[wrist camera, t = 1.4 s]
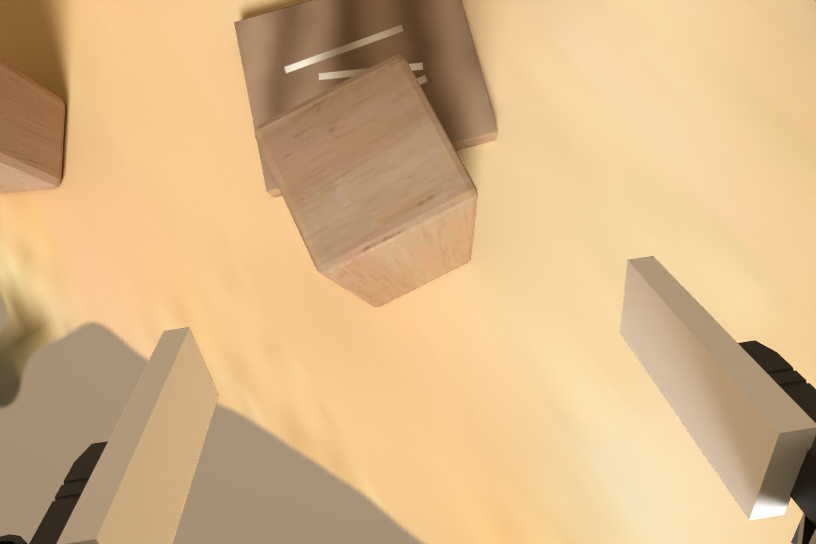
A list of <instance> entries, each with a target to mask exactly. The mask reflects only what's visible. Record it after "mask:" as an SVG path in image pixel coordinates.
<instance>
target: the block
mask: <svg viewBox="0 0 816 544" xmlns="http://www.w3.org/2000/svg"><path fill="white" fill-rule="evenodd" d="M64 121H65V105H64V102H63V100H62V99H61V98H60V97H59V96H57V95H55V94H54V93H52V92H51V91H49V90H48V89H46V88H45V87H43V86H42V85H40V84H39V83H37V82H36V81H34V80H33V79H31V78H30V77H28V76H26V75H25V74H23V73H22V72H20V71H19V70H17V69H16V68H14V67H13V66H11V65H10V64H8V63H7V62H5V61H4V60H2V59H0V194H1V193H12V192H23V191H34V190H46V189H54V188H57V187H59V185H60V183H61V174H62V157H63V139H64Z"/></svg>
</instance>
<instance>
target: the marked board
mask: <svg viewBox="0 0 816 544" xmlns="http://www.w3.org/2000/svg"><path fill="white" fill-rule="evenodd" d="M234 23H235V29H236V34H237V39H238V44H239V49H240V55H241V60H242V65H243V70H244V76H245V81H246V86H247V91H248V96H249V102H250V107H251V112H252V117H253V122H254V128H256V127H257V126H258V125H260V124H261V123H263V122H265V121H267V120H269V119H271V118H273V117H275V116H277V115H279V114H281V113H283V112H285V111H287V110H289V109H291V108H293V107H295V106H297V105H299V104H301V103H303V102H305V101H307V100H309V99H310V98H312V97H314V96H316V95H318V94H320V93H322V92H324V91H326V90H328V89H330V88H332V87H334V86H336V85H338V84H340V83H342V82H344V81H346V80H348V79H350V78H352V77H354V76H356V75H357V74H359V73H361V72H363V71H365V70H367V69H369V68H371V67H373V66H375V65H377V64H379V63H381V62H383V61H385V60H387V59H389V58H391V57H393V56H395V55H401V56H402V57H403V58H405V59H406V60H407V62H408V64H409V66H410V68H411V70H412V71H413V73H414V75H415V77H416V79H417V81H418V82H419V84H420V86H421V88H422V90H423V92H424V93H425V95H426V97H427V99H428V101H429V103H430V104H431V106H432V108H433V110H434V112H435V114H436V115H437V117H438V119H439V121H440V123H441V124H442V126H443V128H444V130H445V132H446V134H447V135H448V137H449V139H450V141H451V143H452V145H453V146H454V148H455V150H459V149H463V148H467V147H471V146H475V145H478V144H482V143H486V142H490V141H494V140H496V139H497V133H498V130H497V126H496V123H495V119H494V116H493V112H492V109H491V105H490V102H489V98H488V95H487V91H486V87H485V84H484V80H483V77H482V73H481V70H480V66H479V63H478V59H477V56H476V52H475V48H474V45H473V41H472V38H471V34H470V31H469V27H468V24H467V20H466V17H465V13H464V9H463V6H462V2H461V0H312V1H309V2H305V3H302V4H298V5H294V6H291V7H287V8H284V9H280V10H277V11H273V12H269V13H266V14H262V15H259V16H255V17H251V18H248V19H244V20H241V21H237V22H234ZM257 143H258V142H257ZM258 148H259V154H260V159H261V164H262V169H263V174H264V180H265V185H266V190H267V192H268V193H270V194H271V195H272V196H273V197H278V196H281V195H282V194H281V192H280V189H279V187H278V185H277V183H276V181H275V179H274V177H273V174H272V172H271V170H270V168H269V166H268V164H267V161H266V159H265V157H264V155H263V153H262V151H261V149H260V146H259V144H258Z"/></svg>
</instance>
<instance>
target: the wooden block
mask: <svg viewBox="0 0 816 544" xmlns="http://www.w3.org/2000/svg"><path fill="white" fill-rule="evenodd" d="M254 130H255V138H256V140H257V142H258V144H259V146H260V149H261V151H262V153H263V155H264V157H265V159H266V161H267V164H268V166H269V168H270V170H271V172H272V174H273V177H274V179H275V181H276V183H277V185H278V187H279V189H280V192H281V194H282V196H283V198H284V200H285V202H286V205H287V207H288V209H289V211H290V213H291V215H292V217H293V220H294V222H295V224H296V226H297V228H298V230H299V232H300V235H301V237H302V239H303V241H304V243H305V245H306V248H307V250H308V252H309V254H310V256H311V258H312V260H313V263H314V265H315V267H316V269H317V271H318V272H320V273H321V274H322V275H323V276H325V277H327V278H328V279H330V280H331V281H333V282H335V283H336V284H338V285H340V286H341V287H343V288H345V289H346V290H348V291H349V292H351V293H353V294H354V295H356V296H358V297H359V298H361V299H362V300H364V301H366V302H367V303H369V304H371V305H372V306H374V307H381V306H383V305H385V304H387V303H389V302H391V301H393V300H394V299H396V298H398V297H400V296H402V295H404V294H406V293H408V292H410V291H412V290H414V289H416V288H418V287H420V286H422V285H424V284H426V283H428V282H430V281H432V280H434V279H436V278H438V277H440V276H442V275H444V274H446V273H448V272H450V271H452V270H454V269H456V268H458V267H460V266H462V265H464V264H466V263H468V262H469V261H470V260H471V253H472V244H473V234H474V225H475V216H476V207H477V197H478V195H477V189H476V187H475V185H474V183H473V181H472V179H471V178H470V176H469V174H468V172H467V170H466V168H465V167H464V165H463V163H462V161H461V159H460V157H459V156H458V154H457V152H456V150H455V148H454V146H453V145H452V143H451V141H450V139H449V137H448V135H447V134H446V132H445V130H444V128H443V126H442V124H441V123H440V121H439V119H438V117H437V115H436V114H435V112H434V110H433V108H432V106H431V104H430V103H429V101H428V99H427V97H426V95H425V93H424V92H423V90H422V88H421V86H420V84H419V82H418V81H417V79H416V77H415V75H414V73H413V71H412V70H411V68H410V66H409V64H408V62H407V60H406V59H405V58H403V57H402V56H401V55H395V56H393V57H391V58H389V59H387V60H385V61H383V62H381V63H379V64H377V65H375V66H373V67H371V68H369V69H367V70H365V71H363V72H361V73H359V74H357V75H356V76H354V77H352V78H350V79H348V80H346V81H344V82H342V83H340V84H338V85H336V86H334V87H332V88H330V89H328V90H326V91H324V92H322V93H320V94H318V95H316V96H314V97H312V98H310V99H309V100H307V101H305V102H303V103H301V104H299V105H297V106H295V107H293V108H291V109H289V110H287V111H285V112H283V113H281V114H279V115H277V116H275V117H273V118H271V119H269V120H267V121H265V122H263V123H261V124H260V125H258V126H257V127H256V128H255V129H254Z"/></svg>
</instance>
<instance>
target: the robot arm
mask: <svg viewBox="0 0 816 544" xmlns="http://www.w3.org/2000/svg"><path fill="white" fill-rule="evenodd" d="M620 333H621V335H622V336H623V338H624V339H625V341H626V342H627V344H628V345H629V346H630V348H631V349H632V351H633V352H634V354H635V355H636V357H637V358H638V360H639V361H640V362H641V364H642V365H643V367H644V368H645V370H646V371H647V373H648V374H649V375H650V377H651V378H652V380H653V381H654V383H655V384H656V386H657V387H658V388H659V390H660V391H661V393H662V394H663V396H664V397H665V399H666V400H667V402H668V403H669V404H670V406H671V407H672V409H673V410H674V412H675V413H676V415H677V416H678V417H679V419H680V420H681V422H682V423H683V425H684V426H685V428H686V429H687V431H688V432H689V433H690V435H691V436H692V438H693V439H694V441H695V442H696V444H697V445H698V446H699V448H700V449H701V451H702V452H703V454H704V455H705V457H706V458H707V459H708V461H709V462H710V464H711V465H712V467H713V468H714V470H715V471H716V473H717V474H718V475H719V477H720V478H721V480H722V481H723V483H724V484H725V486H726V487H727V488H728V490H729V491H730V493H731V494H732V496H733V497H734V499H735V500H736V501H737V503H738V504H739V506H740V507H741V509H742V510H743V512H744V513H745V515H746V516H747V517H748V519H749V520H752V519H759V518H765V517H772V516H778V515H784V513H785V511H786V508H787V506H788V503H789V501H790V498H791V497H792V499H793V500H794V501H795V502H796V504H797V505H798V506H799V507H800V509H801V510H802V511H803V512H804V514H803V516H802V518H801V521H800V523H799V525H798V528H797V530H796V532H795V535H794V537H793V539H792V542H791V543H793V544H816V389H815V388H814V387H813V386H812V385H811V384H810V383H808V384H807V383H806V380H805V379H804V378H803V377H802V376H801V375H800V374H799V373H798V372H797V371H794V370H793V367H792V366H791V365H790V364H789V363H788V362H787V361H786V360H784V359H783V358H782V357H781V356H780V355H779V354H778V353H777V352H775V351H773V350H772V349H770V348H768V347H766V346H764V345H762V344H761V343H759V342H757V341H749V342H742V343H737V342H736V341H735V340H734V339H733V338H732V337H731V336H730V335H729V334H728V333H727V332H726V331H725V330H724V329H723V328H722V326H721V325H720V324H719V323H718V322H717V321H716V320H715V319H714V318H713V317H712V316H711V315H710V314H709V313H708V312H707V311H706V310H705V309H704V308H703V307H702V306H701V305H700V304H699V303H698V302H697V301H696V300H695V299H694V298H693V297H692V296H691V295H690V294H689V293H688V291H687V290H686V289H685V288H684V287H683V286H682V285H681V284H680V283H679V282H678V281H677V280H676V279H675V278H674V277H673V276H672V275H671V274H670V273H669V272H668V271H667V270H666V269H665V268H664V267H663V266H662V265H661V264H660V263H659V262H658V261H657V260H656V259H655V258H654V257H653V256H651V257H644V258H637V259H631V260H628V261H627V271H626V281H625V290H624V300H623V309H622V319H621V329H620ZM218 395H219V394H218V392H217V389H216V387H215V385H214V382H213V380H212V378H211V375H210V373H209V371H208V368H207V366H206V364H205V361H204V359H203V357H202V354H201V352H200V350H199V348H198V345H197V343H196V341H195V338H194V336H193V334H192V331H191V329H190V327H187V328H180V329H174V330H167V331H164V332H163V334H162V336H161V338H160V340H159V342H158V344H157V346H156V348H155V350H154V352H153V354H152V356H151V358H150V360H149V362H148V364H147V366H146V368H145V370H144V372H143V374H142V376H141V377H140V379H139V382H138V383H137V385H136V387H135V389H134V391H133V393H132V395H131V397H130V399H129V401H128V403H127V405H126V407H125V409H124V411H123V413H122V415H121V417H120V419H119V421H118V423H117V425H116V427H115V429H114V431H113V433H112V435H111V437H110V439H109V441H108V442H101V443H95V444H91V446H89V447H88V448H87V450H86V451H85V452H84V453H83V454H82V455H81V456H80V457H79V458H78V459H77V460H76V461H75V462H74V464H73V466H72V468H71V469H70V472H69V473H68V475H67V476H66V478H65V480H64V485H61V487H60V489H59V491H58V493H57V494H56V496H55V501H53V502H52V504H51V506H50V507H49V509H48V511H47V513H46V514H45V516H44V518H43V520H42V522H41V524H40V525H39V527H38V529H37V531H36V533H35V534H34V536H33V538H32V540H31V542H30V543H29V544H173V541H174V537H175V534H176V531H177V528H178V525H179V521H180V518H181V515H182V512H183V508H184V505H185V501H186V498H187V495H188V492H189V489H190V486H191V483H192V479H193V476H194V473H195V470H196V466H197V463H198V460H199V457H200V453H201V450H202V447H203V444H204V441H205V437H206V434H207V431H208V427H209V424H210V421H211V418H212V415H213V412H214V408H215V405H216V402H217V399H218ZM0 544H27V543H26V542H25V541H24V540H23V538H22V537H20V536H16V535H10V534H9V535H6V536H1V537H0Z"/></svg>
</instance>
